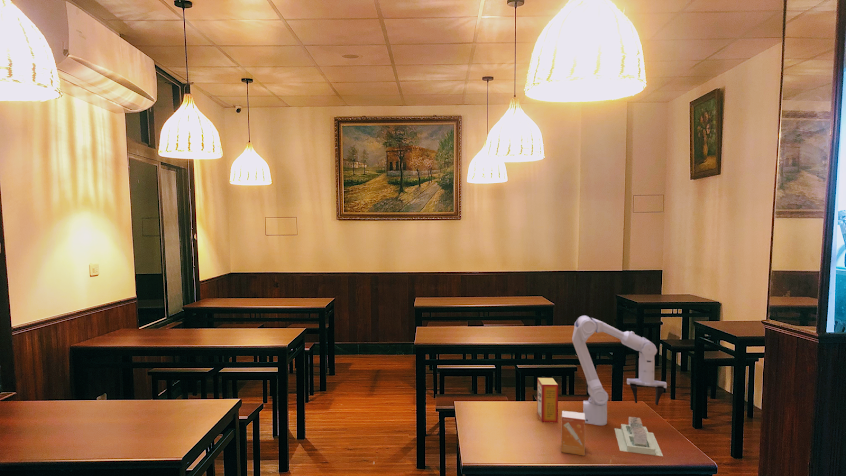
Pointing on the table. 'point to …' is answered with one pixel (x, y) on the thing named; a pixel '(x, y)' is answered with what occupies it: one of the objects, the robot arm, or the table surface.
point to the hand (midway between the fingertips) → (646, 403)
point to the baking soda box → (547, 400)
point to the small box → (573, 433)
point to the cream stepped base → (626, 445)
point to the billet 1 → (634, 423)
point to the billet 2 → (639, 437)
